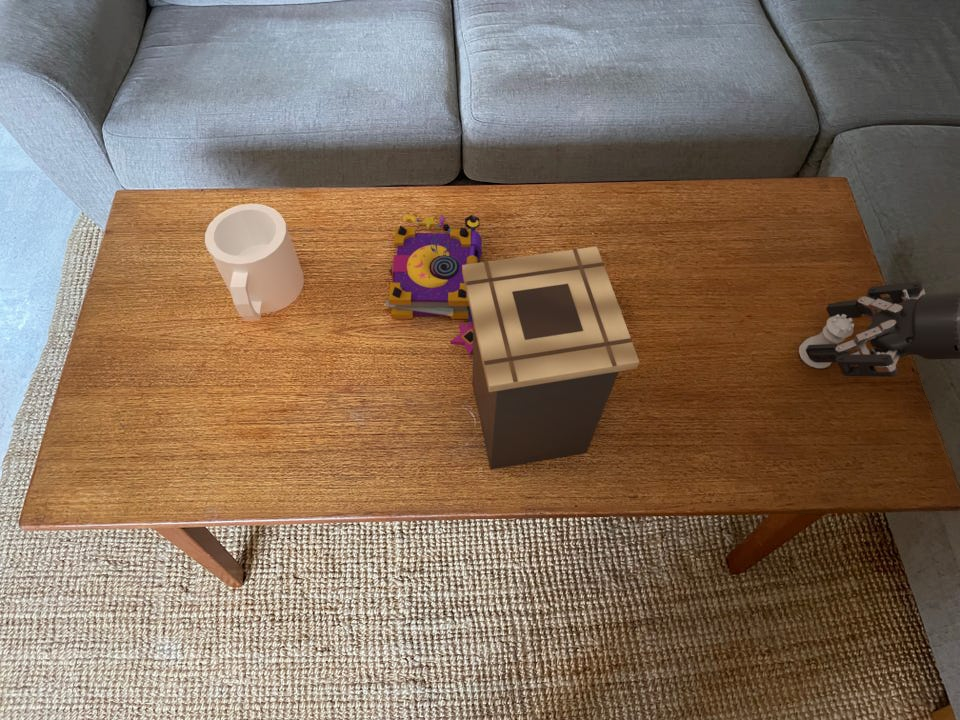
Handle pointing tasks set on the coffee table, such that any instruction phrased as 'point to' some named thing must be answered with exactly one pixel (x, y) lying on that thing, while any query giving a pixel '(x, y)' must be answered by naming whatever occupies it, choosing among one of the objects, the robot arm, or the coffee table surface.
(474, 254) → the book
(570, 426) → the board stand
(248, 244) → the mug
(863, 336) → the robot arm
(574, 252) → the game board
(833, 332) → the rook chess piece
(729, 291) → the coffee table surface
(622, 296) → the coffee table surface
